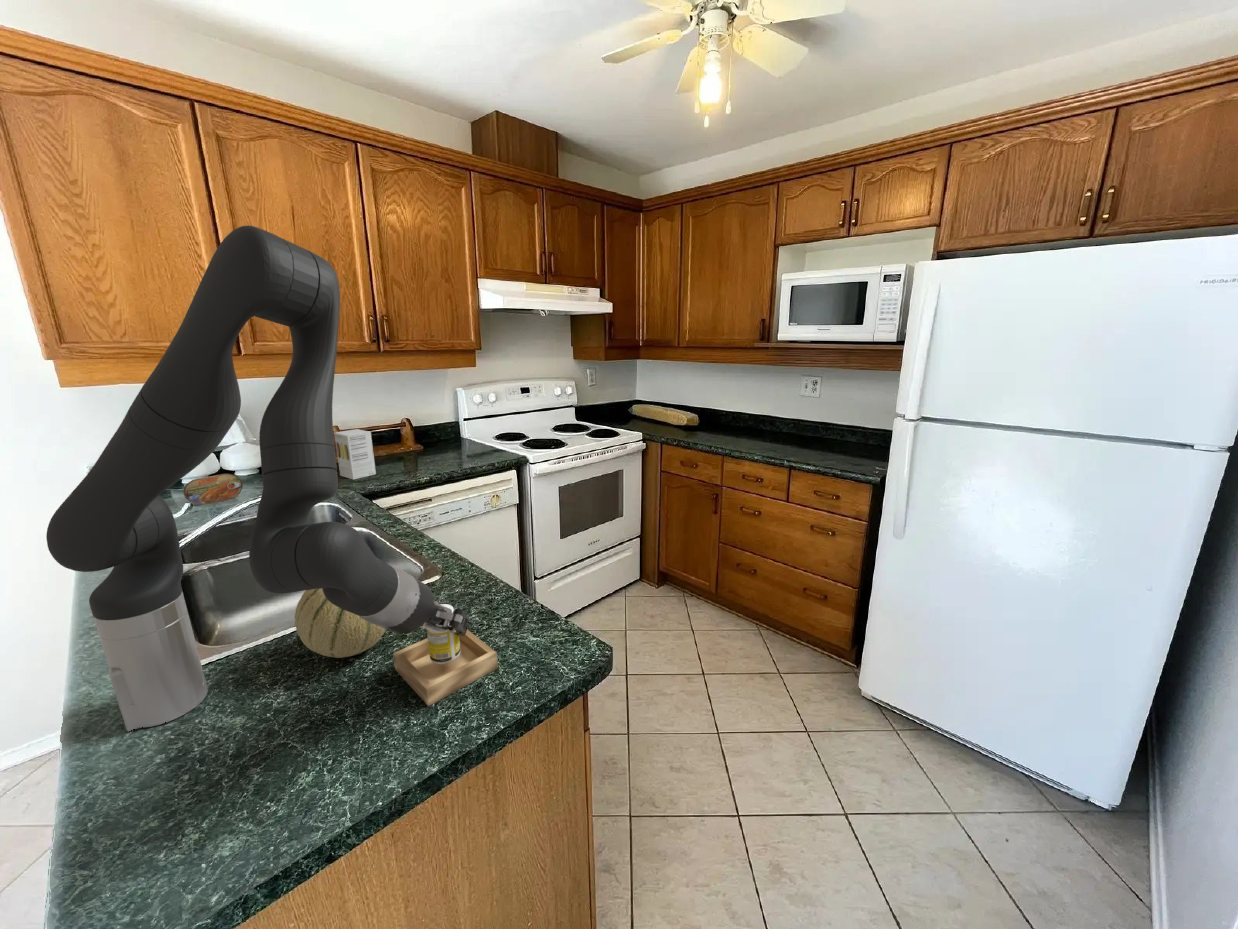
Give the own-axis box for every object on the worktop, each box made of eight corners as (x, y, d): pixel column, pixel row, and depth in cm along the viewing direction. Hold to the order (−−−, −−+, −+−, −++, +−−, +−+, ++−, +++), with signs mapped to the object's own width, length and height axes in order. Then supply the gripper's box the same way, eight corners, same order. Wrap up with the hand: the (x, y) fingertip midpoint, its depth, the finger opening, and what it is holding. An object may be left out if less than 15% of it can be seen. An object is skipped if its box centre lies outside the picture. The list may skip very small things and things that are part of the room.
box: (428, 706, 75) (426, 689, 74) (395, 669, 83) (392, 653, 82) (497, 668, 83) (496, 652, 82) (461, 638, 91) (459, 623, 90)
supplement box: (339, 475, 190) (332, 432, 185) (362, 470, 197) (357, 428, 193) (353, 480, 185) (347, 435, 180) (377, 474, 192) (371, 431, 188)
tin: (188, 508, 156) (182, 482, 154) (185, 506, 158) (179, 480, 155) (245, 495, 167) (240, 471, 165) (242, 494, 169) (237, 470, 167)
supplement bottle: (450, 643, 85) (445, 599, 83) (466, 654, 82) (462, 609, 80) (424, 657, 82) (418, 611, 80) (440, 669, 79) (435, 622, 77)
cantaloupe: (296, 645, 89) (281, 568, 85) (383, 615, 98) (373, 545, 94) (311, 689, 78) (295, 604, 74) (408, 652, 87) (398, 574, 83)
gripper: (448, 578, 68) (495, 610, 83) (359, 566, 72) (419, 599, 86) (428, 634, 65) (481, 657, 79) (336, 619, 68) (403, 644, 83)
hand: (449, 627), depth 83 cm, fingers closed on supplement bottle, 4 cm apart
